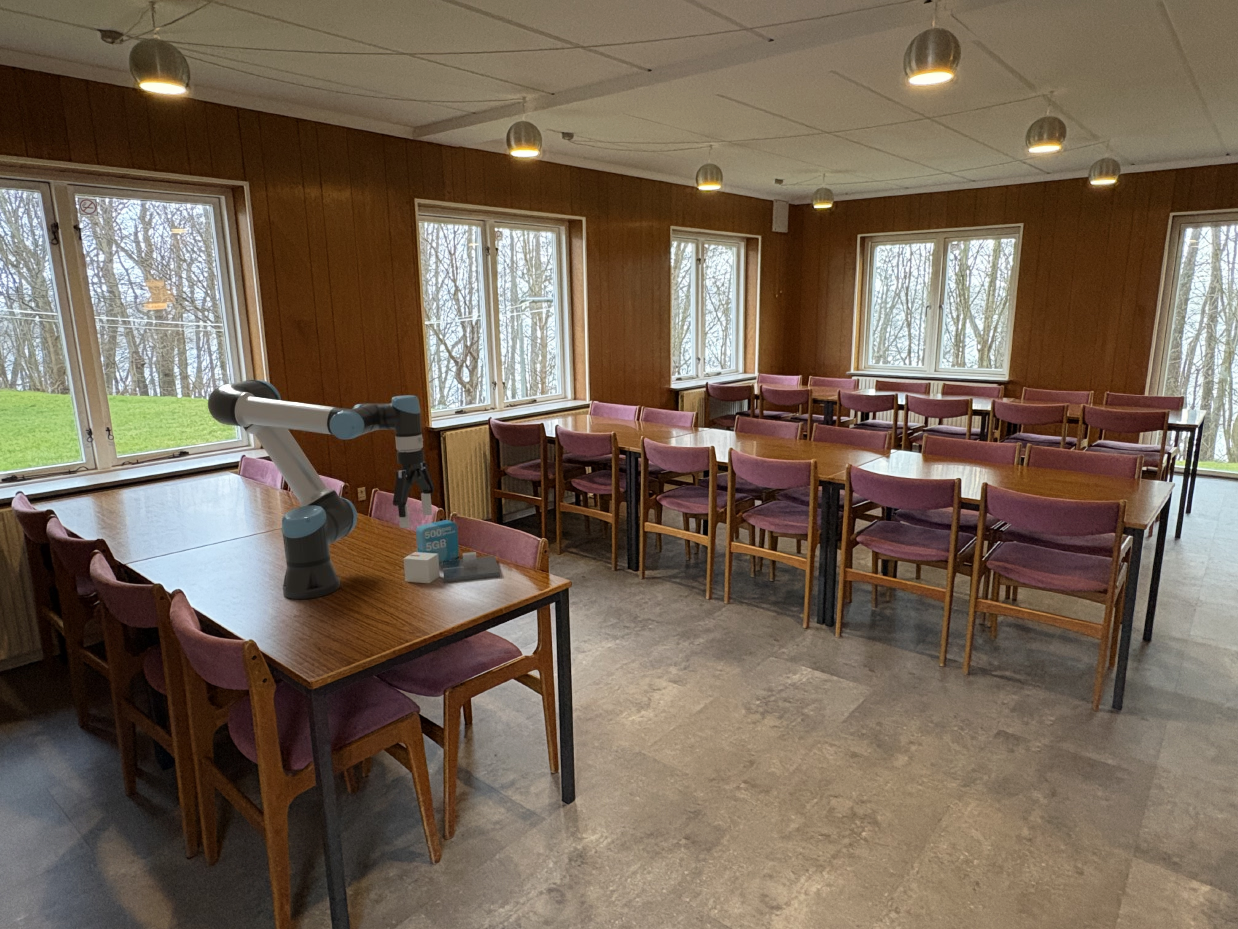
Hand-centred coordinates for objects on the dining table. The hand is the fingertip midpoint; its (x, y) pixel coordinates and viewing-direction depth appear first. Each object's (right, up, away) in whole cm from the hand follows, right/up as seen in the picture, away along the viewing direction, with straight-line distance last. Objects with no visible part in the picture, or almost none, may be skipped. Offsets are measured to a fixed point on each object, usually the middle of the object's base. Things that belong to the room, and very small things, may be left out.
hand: (416, 521), depth 226 cm
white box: (+1, -17, +2) cm, 17 cm away
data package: (+2, -14, +18) cm, 23 cm away
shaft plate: (+14, -16, +7) cm, 22 cm away
